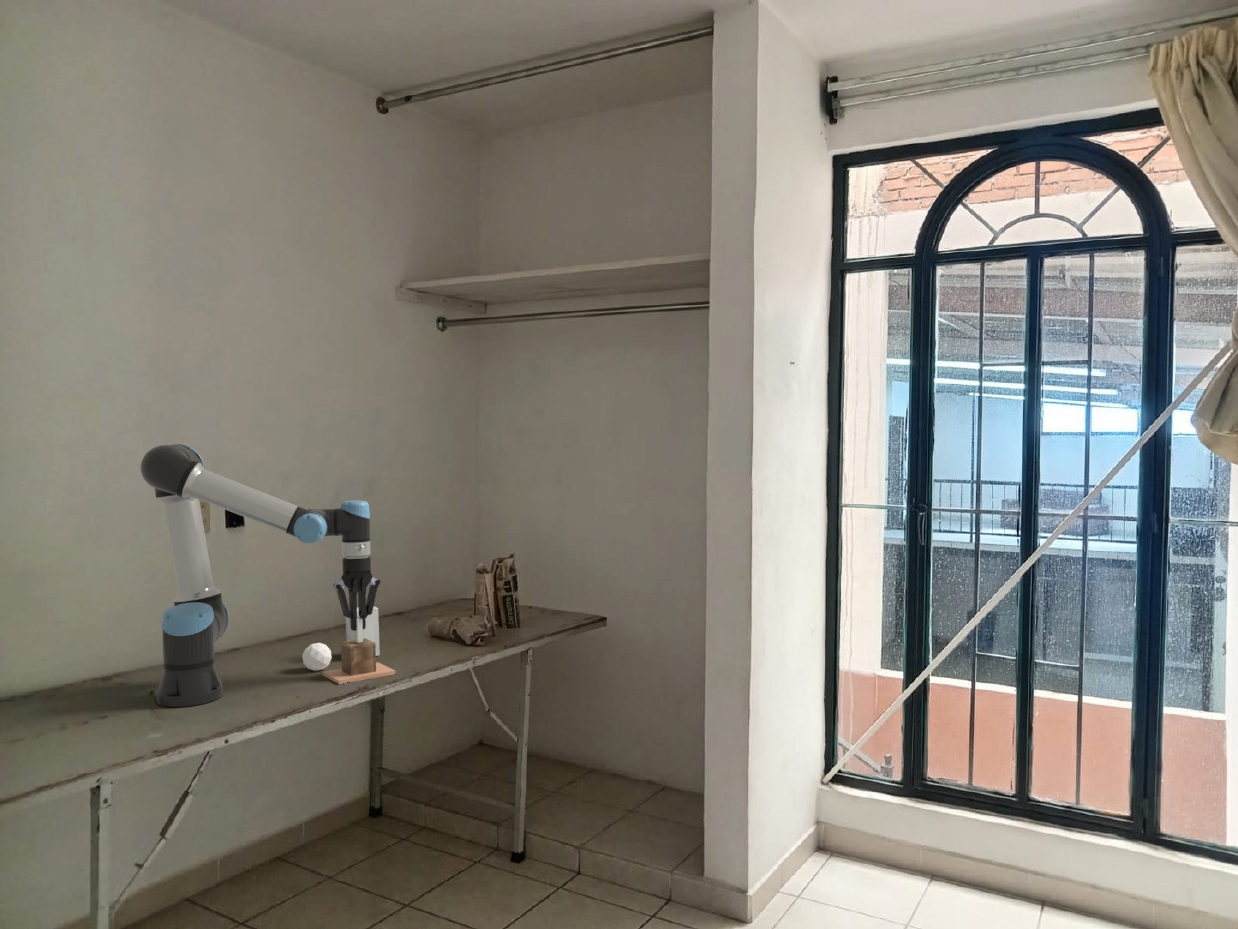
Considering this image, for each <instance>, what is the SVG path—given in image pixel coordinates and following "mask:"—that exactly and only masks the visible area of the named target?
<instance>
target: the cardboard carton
mask: <svg viewBox="0 0 1238 929" xmlns="http://www.w3.org/2000/svg"><path fill="white" fill-rule="evenodd" d="M340 643H341V644H340V645H341V647H340V648H341V649H340V650H341V651H340V653H341V656H340V657H341V669H342V671H343V672H345V673H347V674H349V675H351V676H354V675H359V674H365V673H370V672H376V662H377V658H376V657H377V656H376V645H375V642H373V641H370V640H368V639H366V638H365V639H363V642H360V643H357V642H355V641H354V640H352V641H347V640H346V641H341V642H340Z"/></svg>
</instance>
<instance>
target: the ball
mask: <svg viewBox="0 0 1238 929" xmlns="http://www.w3.org/2000/svg"><path fill="white" fill-rule="evenodd" d="M301 658H302V663H303V665H304V666H305V667H306V668H307V669H308V670H311V671H313V672H317V671H323V669H325V668H327V667H328V666H329V664H330V663H331V660H332V651H331V649H330V648H329V647H328V646H327V644H325V643H322V642H317V643H311V644H310V645H308V646H307V647H306V648H305V649H304V651H303V653H302V657H301Z"/></svg>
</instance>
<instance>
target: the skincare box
mask: <svg viewBox="0 0 1238 929" xmlns="http://www.w3.org/2000/svg"><path fill="white" fill-rule="evenodd" d="M357 617H359V611H358V606H357ZM379 626H380V625H379V608H378V607H376V606H374V607H373V611H372V614H371V615H368V616H367V618H366V628H365V629H363V639H365V638H366V639H368V640H370V641H373V642H375V645H376V657H379V656H380V655H381V654H380V653H381V652H380V631H379V630H380V628H379ZM345 630H346V632H345V633H346V641H352V640H354V631H353V630H351V627H350V618H347V617H345Z"/></svg>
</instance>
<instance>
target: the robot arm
mask: <svg viewBox="0 0 1238 929" xmlns="http://www.w3.org/2000/svg"><path fill="white" fill-rule="evenodd" d="M140 473H141V476H142V479H143V480H144V481H145V482H146V483H147V485H149V486H150V487H152V488H154V494H155V499H156V500H158V501H159V502H161V503H162V505H163V508H164V514H165V520H166V526H167V532H168V536H169V537H168V538H169V543H170V548H171V549H170V550H171V555H172V561H173V568H174V572H175V573H174V574H175V578H176V585H177V590H178V591H177V592H178V593H177V595H176V596H175V597H174V598H173V606H171V607H169V608H167V609H166V610H164V612H163V614H162V621H161V628H162V653H163V655H162V656H163V674H162V676H161V679H160V682H159V685H158V689H157V692H156V704H157V705H158V706H161V707H169V708H184V707H192V706H199V705H204V704H207V703H210V702H214V701H217V700H218V699H220V698H221V697H223V695H224V693H223V692H224V691H223V689H224V687H223V683H222V681H221V679H220V676H219V674H218V671H217V669H216V665H215V642H216V641H218V640H220V639H221V637H222V636H223V635H224V634H225V633H226V631H227V628H228V626H229V621H230V614H229V611H228V610H229V609H227V607H226V605H225V604H224V602H223V597H222V592H221V590H220V589H219V588H217V587H216V586H215V585H214V581H213V575H212V569H211V563H210V558H209V551H208V546H207V545H208V544H207V538H206V534H205V533H206V532H205V528H204V527H205V526H204V521H203V515H202V509H201V508H202V507H201V503H200V501H203V502H205V503H208V504H210V505H212V506H215V507H217V508H220V509H223V510H225V511H228V512H231V513H233V514H236V515H238V516H241V517H244V518H247V519H250V520H252V521H254V522H257V523H260V524H261V525H264V526H267V527H271V528H273V529H275V530H277V531H281V532H283V533H285V534H288V535H289V536H293V537H295V538H297V539H298V540H299V541H300V542H302V543H304V544H314V543H318V542H320V541H321V540H323V538H324V537H339V536H341V555H342V557H343V558H342V560H341V561H342V563H341V564H342V575H341V578H340V580H339V581H338V582H336V583H333V585H332V587H333V588H334V590H335V591H336V593H337V597H338V600H339V605H340V607H341V612H342V615H343V617H344V618H346V617H347V618H350V627H351V630H353V631H354V641H355V642H357V643H360V642H363V629H365V628H366V618H367V616H368V615H371V614H372V611H373V607H375V601H376V596H377V591H378V587H380V584H381V580H380V579H378V578H377V579H376V578H375V577H373V573H372V562H371V560H372V558H371V556H370V555H371V516H370V515H371V513H370V512H371V511H370V504H369V503H368V501H366V500H345V501H341V503H340V508H339V507H338V508H315V509H314V508H307V509H306V508H304V507H301V506H298V505H297V504H293V503H291V502H288V501H286V500H284V499H281V498H278V497H276V496H273V495H271V494H268V493H266V492H263V491H260V490H258V489H256V488H253V487H250V486H248V485H246V484H243V483H242V482H241V483H240V482H239V481H235V480H233V479H230V478H228V477H226V476H223V475H220V474H217V473H215V472H213V471H210V470H208V469H205V465H204V460H203V458H202V456H201V455H200V453H199V452H197V450H195V449H194V448H192V447H189V446H188V445H185V444H181V443H177V444H175V443H174V444H173V443H172V444H161V445H157V446H154V447H153V448H151V449H150V450H148V451H147V452H146V453H145V454H144V456H143V457H142V460H141V462H140ZM368 585H369V587H368ZM345 587H346V588H347V589H348V599H347V595H346V592H345V590H344V588H345ZM367 587H368V588H369V589H368V592H367ZM366 594H367V595H366ZM366 596H367V598H366ZM348 602H349V603H348ZM357 607H358V611H359V617H357Z"/></svg>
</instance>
